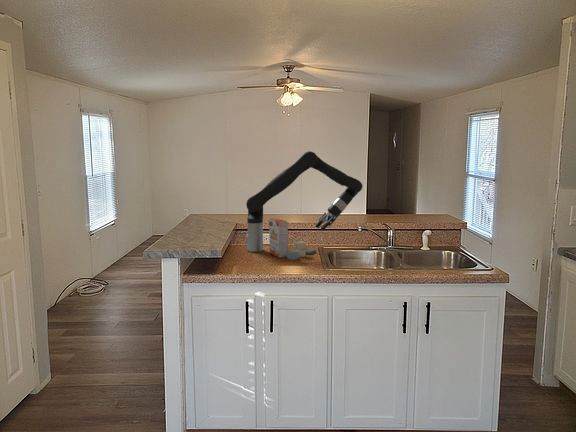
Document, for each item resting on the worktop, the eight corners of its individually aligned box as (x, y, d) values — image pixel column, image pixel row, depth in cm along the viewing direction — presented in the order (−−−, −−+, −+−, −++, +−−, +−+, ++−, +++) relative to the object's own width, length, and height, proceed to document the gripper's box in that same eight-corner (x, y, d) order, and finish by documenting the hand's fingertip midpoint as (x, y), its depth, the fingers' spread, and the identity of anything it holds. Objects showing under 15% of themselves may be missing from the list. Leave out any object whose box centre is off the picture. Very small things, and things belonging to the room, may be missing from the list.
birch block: (294, 255, 282) (294, 241, 280) (302, 254, 283) (302, 241, 282) (297, 257, 277) (297, 243, 276) (305, 256, 278) (305, 242, 277)
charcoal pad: (295, 253, 288) (295, 250, 288) (303, 250, 294) (303, 248, 294) (308, 255, 282) (308, 252, 282) (316, 252, 289) (316, 250, 289)
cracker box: (269, 253, 287) (268, 218, 284) (278, 252, 289) (278, 217, 286) (278, 258, 274) (278, 221, 271) (288, 257, 277) (288, 220, 274)
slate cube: (287, 258, 273) (287, 251, 273) (292, 257, 277) (292, 249, 276) (293, 259, 271) (293, 252, 270) (298, 258, 274) (298, 250, 274)
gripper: (328, 202, 289) (310, 222, 287) (338, 204, 276) (319, 225, 274) (336, 210, 291) (318, 230, 289) (346, 213, 278) (328, 234, 276)
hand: (319, 228), depth 281 cm, fingers open, 8 cm apart
